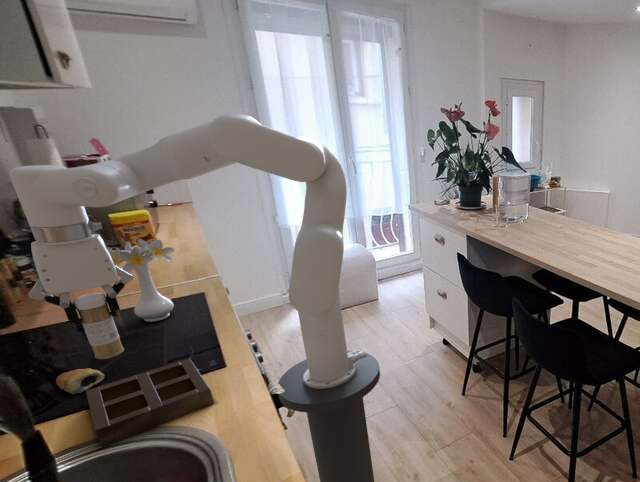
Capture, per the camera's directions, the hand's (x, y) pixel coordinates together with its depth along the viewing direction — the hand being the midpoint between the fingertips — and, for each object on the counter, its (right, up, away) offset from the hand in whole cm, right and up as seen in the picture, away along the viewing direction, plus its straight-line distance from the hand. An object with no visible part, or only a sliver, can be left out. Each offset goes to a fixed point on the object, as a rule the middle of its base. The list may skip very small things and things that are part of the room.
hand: (96, 317), depth 84 cm
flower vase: (-29, -6, +44) cm, 54 cm away
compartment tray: (+5, -20, +7) cm, 22 cm away
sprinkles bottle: (0, -8, +3) cm, 9 cm away
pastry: (-18, -18, +13) cm, 28 cm away
